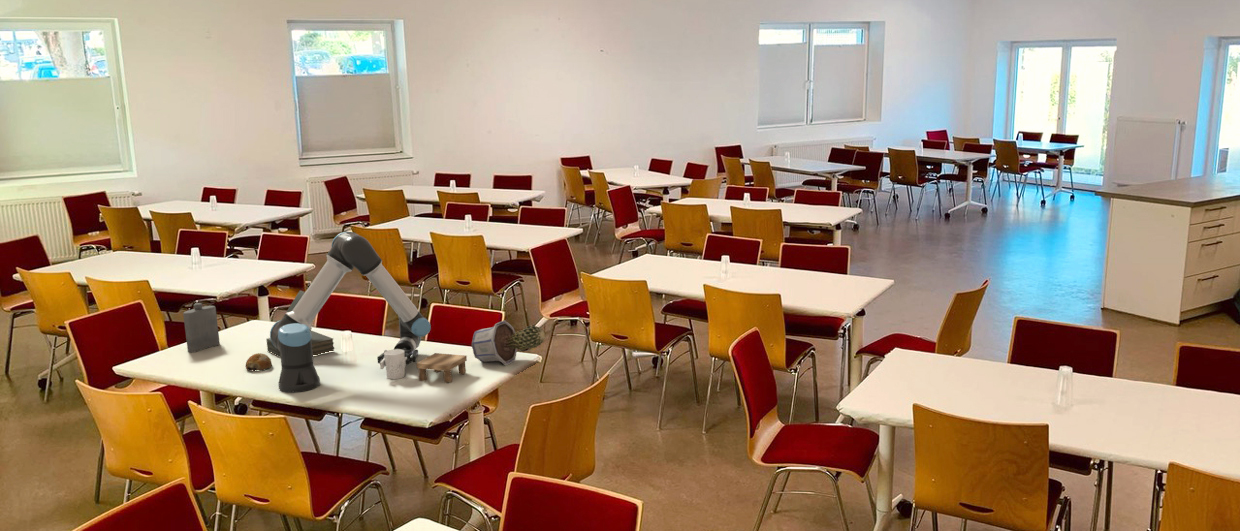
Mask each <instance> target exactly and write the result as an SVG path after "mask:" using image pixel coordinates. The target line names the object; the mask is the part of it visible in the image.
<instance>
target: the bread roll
mask: <svg viewBox="0 0 1240 531" xmlns="http://www.w3.org/2000/svg"><path fill="white" fill-rule="evenodd" d="M272 367H273V364H272V359H271V358H270V356H269V355H267V354H265V353H263V352H258V353H254V354H252V355H251V356H249V357H248V358H247V360H246V362H245V369H246V371H248V370H253V371H252V372H256V371H255V370H262V371H265V370H268V369H267V368H269V369H271V368H272ZM264 369H265V370H264Z"/></svg>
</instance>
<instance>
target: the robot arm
mask: <svg viewBox="0 0 1240 531" xmlns="http://www.w3.org/2000/svg"><path fill="white" fill-rule="evenodd" d="M382 263H383V260H382V258H381V257H380V255H379V254H378V253H377V252H376V250H375V248H374V247H373V245H372V244H371V243H370V242H369V240H368V239H367V238H365V237H364V236H362V235H359V234H358V233H356V232H353V231H344V232H340V233H338V234H337V235H336V236H335V237H334V238H333V239H332V242H331V248H330V249H329V251H328V252H327V254H326V262H325V263H324V265H323V266H322V268H321V269H320V270H319V272H318V273H317V275H316V276H315V277H314V279H313V280H312V281H311V282H310V283H311V284H310V285H309V287H308V288H307V289H306V290H305V291H304V292H305V293H304V295H303V296H302V298H301V299H300V300H299V302H298V303H297V305H296V306H295V308H294V309H293V310H292V311H291V312H287V311H286V312H287V313H286V312H285V313H286V314H284V315H283V317H282V318H281V319H280V320H278V321H276V322H275V323H273V325H272V327H271V329H270V331H269V332H270V333H269V338H270V339H271V342H272V344H273V345H274V347H275V348H277V349H278V350H279V351H280V356H281V357H280V364H281V365H280V366H281V370H280V374H279V380H278V390H279V389H280V390H279V391H281V392H283V391H285V393H300V392H306V391H310V390H314V389H316V388H318V387H320V385H321V378H320V376H319V375H318V372H317V370H316V367H315V365H314V357H313V352H312V341H311V332H310V331H312V328H313V327H312V322H313V321H314V320H315V318H316V317H317V315H318V314H319V312H320V311H321V309H322V308H323V306H324V305H326V304H325V303H326V302H327V301H328V299H329V298H330V297H331V295H332V294H333V292H334V291H335V289H336V288H337V287H338V285H339V283H340V282H341V280H342V279H343V278H344V276H345V275H346V274H347V273H350V272H352V271H353V270H354V269H356V270H357V271H358V272H359V273H360V275H361V276H366V278H367V279H368V280H369V282H370V283H371V284H372V285H373V286H374V288H375V289H376V290H377V291H378V293H379V294H380V295H381V296H382V297H383V299H384V300H385V301H386V302H387V304H388V305H389V306H390V307H391V308H392V310H393V311H394V312H395V313H396V316H397V315H398V326H399V341H398V342H397V343H396V344H395V345H394V348H393V349H401V350H404V351H405V358H404V359H403V361H402V369H404V368H405V369H406V366H407V365H409V364H411V362H412V363H414V364H415V363H417V357H419V350H418V347H419V346H420V344H421V340H422V338H421V337H425V336H427V335H428V334H429V333H430V331H431V326H432V325H431V322H430V321H429V320H428V319H427V318H426V317H424V315H422V313H421V312H420V311H419V309H418V308H417V306H416V304H414V303H413V301H411V299H410V298H409V296H408V295H407V294H406V293H405V292H404V290H403V289H402V288H401V287H400V285H399V284H398V283H397V281H396V280H395V279H394V277H392V275H391V274H390V273H389V271H388V270H387V269H386V268H385V266H384V265H383V264H382ZM385 351H388V350H387V349H385V350H383V352H382V353H381V354H380V355H378V356H377V364H379V366H380V370H383V369H384V368H386V366H385V359H384V352H385Z"/></svg>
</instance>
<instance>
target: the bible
mask: <svg viewBox="0 0 1240 531" xmlns="http://www.w3.org/2000/svg"><path fill="white" fill-rule="evenodd" d="M305 292H306V291H303V290H301V289H300V290H298V292H297V294H296V296H295V298H294V299H293V301H292V302H291V304H290V306H288V309H287V310H286V312H285V314H286V313H287V312H291V311H292V310H293V309H294V308H295V306H296V305H297V303H298V302H299V300H300V299H301V298H302V296H303V295H304V293H305ZM285 314H284V315H285ZM310 332H311V341H312V352H313V355H318V354H321V353H325V352H329V351H334V352H335V350H334V349H335V347H334V344H335V342H334V337H333V338H332V337H330V336H328V335H326V334H325V335H324V334H322V333H319V332H317V331H314V330H311V331H310ZM266 348H267V352H268V351H269V352H268V353H270V352H272V353H274V354H276V355H275V356H277V355H278V356H277V357H279V356H280V351H279V350H278V349H277V348H275V347H274V345H273V344H272V342H271V339H270V337H268V338H266ZM272 353H271V354H272ZM274 354H273V355H274ZM318 356H319V355H318Z"/></svg>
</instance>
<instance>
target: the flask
mask: <svg viewBox="0 0 1240 531" xmlns="http://www.w3.org/2000/svg"><path fill="white" fill-rule="evenodd" d="M182 316H183V323H184V331H185V339H186V346H187V348H186V349H187V352H189V353H196V352H199V351H201V350H205V349H207V348H208V349H209V348H212V346H213V347H216V346H219V345H220V335H219V326H218V325H219V324H218V316H217V308H216V306H215V305H206V306H205V305H204V306H203V303H201V302H197V303H196V302H195V303H194V304H193V308H192V309H188V310H186V311H184V312H183V314H182Z"/></svg>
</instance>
